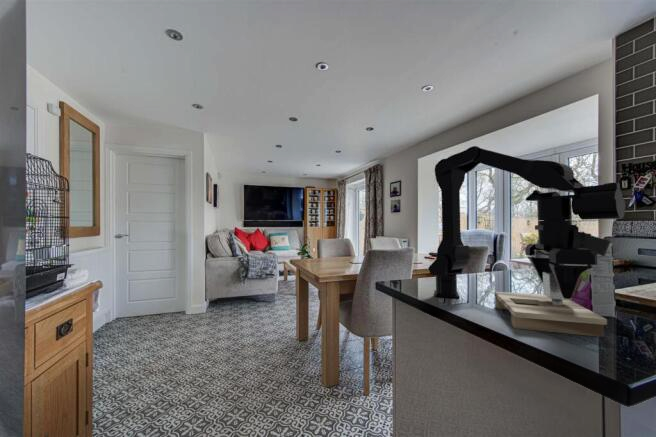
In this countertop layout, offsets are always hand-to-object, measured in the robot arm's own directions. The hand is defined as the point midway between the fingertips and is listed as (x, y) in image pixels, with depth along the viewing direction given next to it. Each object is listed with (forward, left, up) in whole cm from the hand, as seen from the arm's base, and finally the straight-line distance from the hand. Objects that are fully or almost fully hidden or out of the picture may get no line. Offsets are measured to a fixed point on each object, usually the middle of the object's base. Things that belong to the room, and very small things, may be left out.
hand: (557, 293), depth 59 cm
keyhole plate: (0, -3, -6) cm, 7 cm away
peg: (0, 0, -6) cm, 6 cm away
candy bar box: (-11, +10, -6) cm, 16 cm away
